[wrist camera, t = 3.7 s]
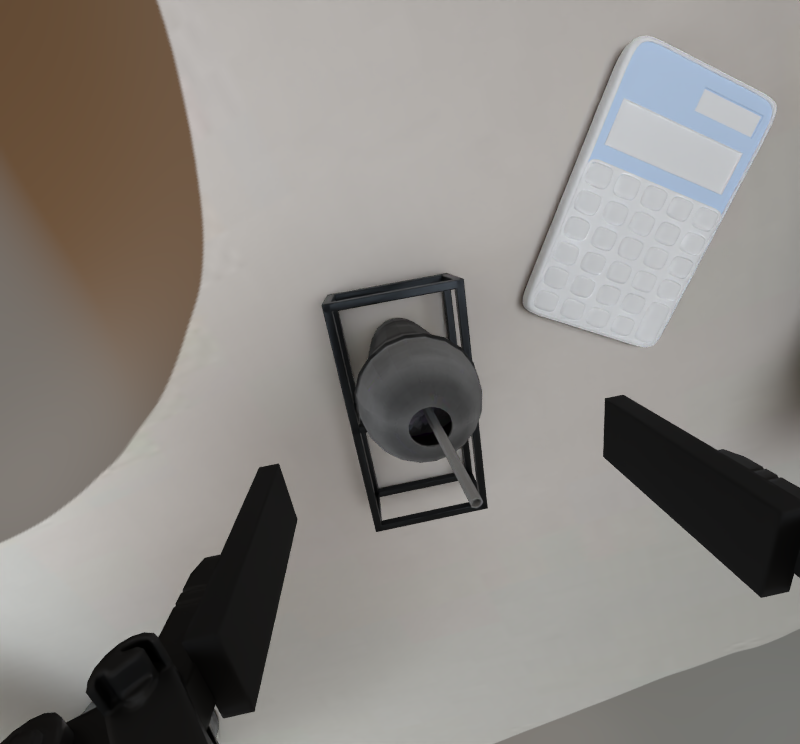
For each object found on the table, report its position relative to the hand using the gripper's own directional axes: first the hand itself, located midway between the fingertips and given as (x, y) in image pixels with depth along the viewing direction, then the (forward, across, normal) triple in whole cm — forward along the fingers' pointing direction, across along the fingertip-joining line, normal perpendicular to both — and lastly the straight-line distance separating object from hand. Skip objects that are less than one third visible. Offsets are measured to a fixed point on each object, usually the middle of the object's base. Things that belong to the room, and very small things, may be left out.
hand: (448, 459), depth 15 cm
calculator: (+19, +21, +7) cm, 29 cm away
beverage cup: (+19, 0, 0) cm, 19 cm away
